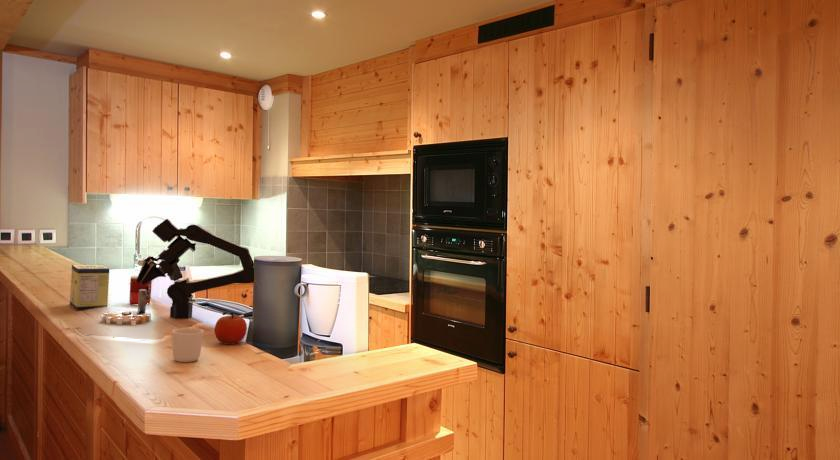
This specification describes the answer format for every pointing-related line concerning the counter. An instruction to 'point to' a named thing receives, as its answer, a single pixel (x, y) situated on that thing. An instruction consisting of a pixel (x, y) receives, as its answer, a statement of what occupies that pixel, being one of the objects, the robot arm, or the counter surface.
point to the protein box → (89, 287)
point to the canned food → (135, 290)
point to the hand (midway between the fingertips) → (139, 283)
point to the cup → (187, 344)
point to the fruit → (230, 328)
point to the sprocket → (129, 313)
